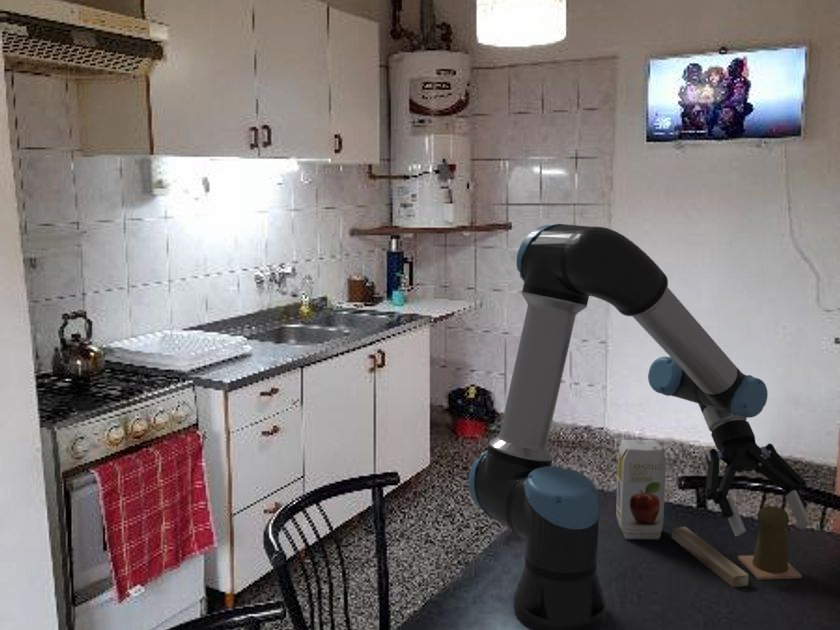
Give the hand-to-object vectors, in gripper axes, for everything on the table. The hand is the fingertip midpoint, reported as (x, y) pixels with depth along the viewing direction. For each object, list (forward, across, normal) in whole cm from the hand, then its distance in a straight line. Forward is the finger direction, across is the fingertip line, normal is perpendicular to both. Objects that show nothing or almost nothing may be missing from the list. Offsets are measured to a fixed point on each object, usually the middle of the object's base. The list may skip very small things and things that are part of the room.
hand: (773, 530), depth 140 cm
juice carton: (-8, +17, -18) cm, 26 cm away
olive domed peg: (+5, 0, -5) cm, 7 cm away
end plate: (+5, +1, -5) cm, 7 cm away
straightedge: (+2, +10, -9) cm, 13 cm away
